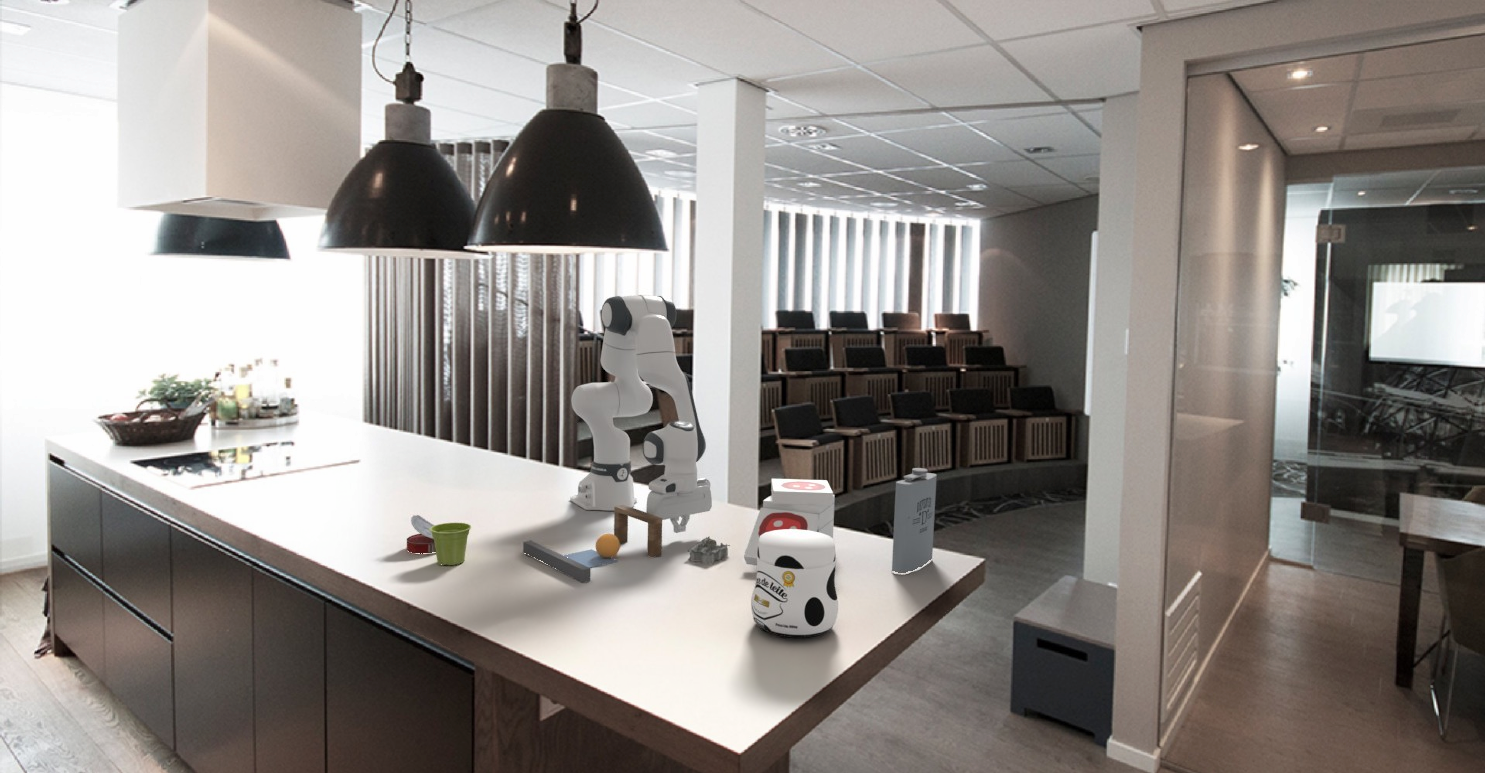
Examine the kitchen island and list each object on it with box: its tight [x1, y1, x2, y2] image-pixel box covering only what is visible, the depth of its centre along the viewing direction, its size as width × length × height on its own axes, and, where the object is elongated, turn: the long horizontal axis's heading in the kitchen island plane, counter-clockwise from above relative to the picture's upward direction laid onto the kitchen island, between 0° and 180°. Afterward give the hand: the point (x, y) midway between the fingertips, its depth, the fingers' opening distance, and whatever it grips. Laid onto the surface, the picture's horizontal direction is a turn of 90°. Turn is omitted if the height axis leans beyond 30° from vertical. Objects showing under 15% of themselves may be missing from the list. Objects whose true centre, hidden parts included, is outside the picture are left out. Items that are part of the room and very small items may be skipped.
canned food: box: [406, 514, 436, 554], centre depth 207 cm, size 11×10×10 cm
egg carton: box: [687, 536, 731, 565], centre depth 207 cm, size 11×8×4 cm
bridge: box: [613, 505, 663, 558], centre depth 212 cm, size 3×17×10 cm, turn 43°
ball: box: [595, 533, 621, 558], centre depth 204 cm, size 6×6×6 cm
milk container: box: [750, 529, 839, 638], centre depth 162 cm, size 17×17×18 cm
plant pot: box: [430, 522, 472, 566], centre depth 196 cm, size 9×9×9 cm
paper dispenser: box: [743, 478, 836, 566], centre depth 206 cm, size 19×30×18 cm, turn 159°
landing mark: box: [563, 548, 619, 569], centre depth 201 cm, size 12×12×1 cm
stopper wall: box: [522, 539, 592, 584], centre depth 196 cm, size 28×2×3 cm, turn 43°
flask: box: [891, 467, 938, 573], centre depth 203 cm, size 17×5×25 cm, turn 143°
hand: (679, 531), depth 222 cm, fingers closed
